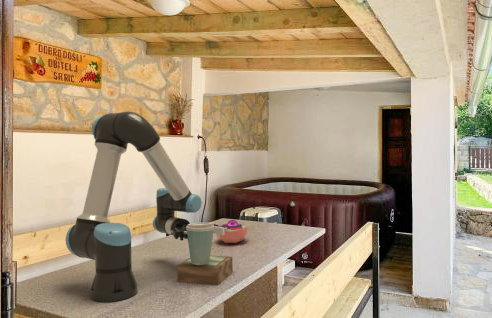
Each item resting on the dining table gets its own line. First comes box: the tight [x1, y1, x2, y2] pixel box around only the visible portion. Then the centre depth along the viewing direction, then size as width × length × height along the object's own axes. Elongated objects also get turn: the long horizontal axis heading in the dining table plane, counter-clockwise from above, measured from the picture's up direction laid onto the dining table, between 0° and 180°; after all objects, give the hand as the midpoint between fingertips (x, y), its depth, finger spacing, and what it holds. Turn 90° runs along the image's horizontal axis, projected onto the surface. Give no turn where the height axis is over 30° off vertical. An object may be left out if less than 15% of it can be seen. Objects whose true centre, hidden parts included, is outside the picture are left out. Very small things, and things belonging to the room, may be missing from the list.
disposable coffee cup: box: [186, 222, 215, 265], centre depth 149 cm, size 11×11×15 cm
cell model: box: [216, 219, 248, 244], centre depth 210 cm, size 17×20×11 cm
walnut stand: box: [176, 254, 234, 286], centre depth 153 cm, size 16×16×6 cm
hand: (209, 234), depth 151 cm, fingers open, 13 cm apart
